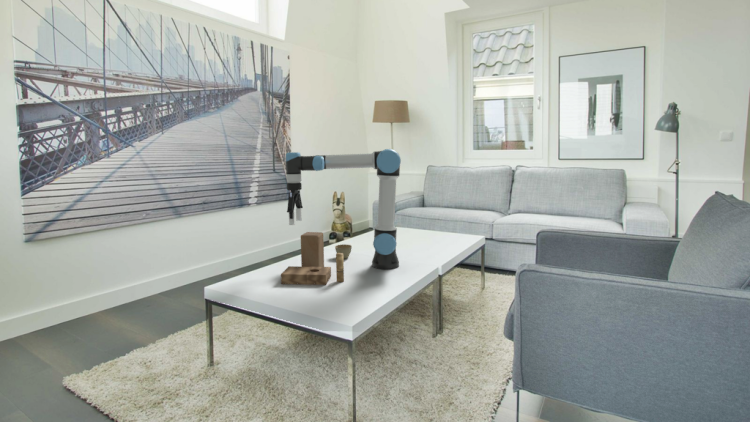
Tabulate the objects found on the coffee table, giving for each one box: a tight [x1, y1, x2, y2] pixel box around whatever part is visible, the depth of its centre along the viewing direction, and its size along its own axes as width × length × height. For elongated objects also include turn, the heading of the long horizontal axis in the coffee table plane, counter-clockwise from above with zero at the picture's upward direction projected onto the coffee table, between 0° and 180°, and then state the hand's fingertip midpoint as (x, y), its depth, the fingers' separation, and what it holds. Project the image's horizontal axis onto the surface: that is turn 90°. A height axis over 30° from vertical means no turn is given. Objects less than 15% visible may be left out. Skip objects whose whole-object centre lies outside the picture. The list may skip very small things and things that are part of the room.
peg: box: [335, 252, 345, 283], centre depth 213 cm, size 4×4×14 cm
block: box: [300, 231, 325, 267], centre depth 233 cm, size 10×10×20 cm
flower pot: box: [334, 243, 353, 260], centre depth 259 cm, size 10×10×7 cm
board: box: [280, 265, 332, 286], centre depth 216 cm, size 22×14×5 cm, turn 86°
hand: (295, 222), depth 227 cm, fingers open, 13 cm apart
